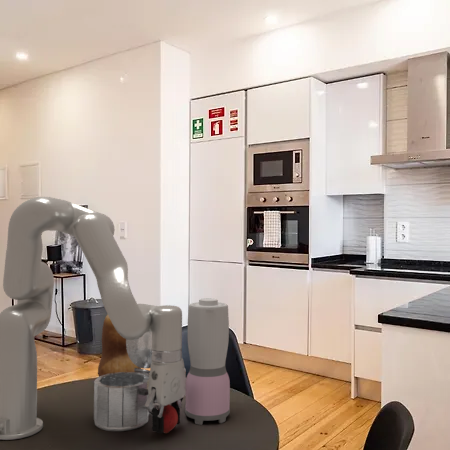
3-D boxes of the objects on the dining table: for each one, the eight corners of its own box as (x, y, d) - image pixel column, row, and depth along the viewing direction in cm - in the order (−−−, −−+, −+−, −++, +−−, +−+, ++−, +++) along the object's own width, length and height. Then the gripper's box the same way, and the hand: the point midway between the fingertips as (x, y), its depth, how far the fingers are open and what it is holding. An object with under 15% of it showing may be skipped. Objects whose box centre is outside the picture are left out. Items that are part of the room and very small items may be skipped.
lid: (167, 318, 138) (172, 318, 139) (128, 313, 146) (132, 313, 147) (161, 376, 135) (165, 376, 137) (121, 368, 143) (125, 368, 145)
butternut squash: (142, 396, 152) (142, 314, 153) (96, 399, 149) (97, 316, 149) (139, 382, 166) (140, 307, 166) (97, 385, 163) (98, 308, 163)
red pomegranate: (173, 438, 121) (174, 406, 122) (151, 436, 123) (151, 404, 123) (180, 429, 127) (180, 398, 127) (159, 427, 128) (159, 396, 128)
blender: (234, 423, 131) (235, 302, 132) (188, 427, 129) (189, 303, 129) (222, 403, 147) (223, 294, 147) (181, 406, 144) (182, 295, 145)
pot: (129, 437, 122) (129, 392, 122) (77, 422, 131) (78, 380, 132) (168, 417, 136) (169, 376, 136) (119, 404, 145) (120, 366, 145)
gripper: (156, 365, 116) (155, 443, 116) (198, 350, 131) (198, 419, 130) (132, 360, 120) (131, 436, 120) (175, 346, 134) (175, 413, 134)
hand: (166, 426), depth 125 cm, fingers closed on red pomegranate, 5 cm apart
